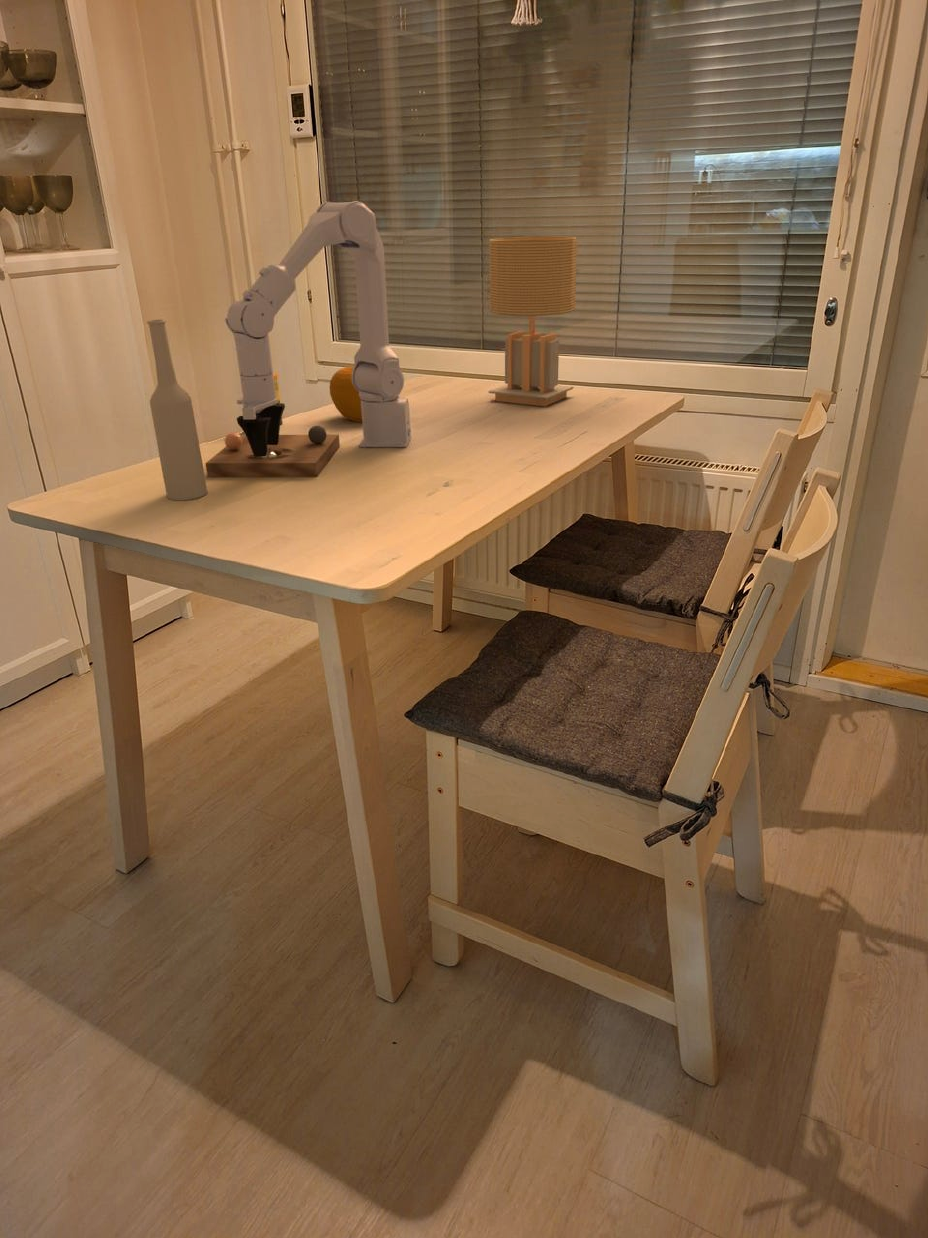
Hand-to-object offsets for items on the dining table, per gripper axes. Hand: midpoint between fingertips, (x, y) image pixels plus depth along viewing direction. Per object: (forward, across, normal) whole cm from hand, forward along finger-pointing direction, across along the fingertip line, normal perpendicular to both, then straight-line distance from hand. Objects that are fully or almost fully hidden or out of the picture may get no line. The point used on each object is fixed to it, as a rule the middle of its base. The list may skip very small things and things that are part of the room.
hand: (266, 450), depth 153 cm
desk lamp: (+4, -58, +48) cm, 76 cm away
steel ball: (+2, -1, 0) cm, 2 cm away
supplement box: (+4, -32, -10) cm, 34 cm away
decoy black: (-1, -8, +8) cm, 11 cm away
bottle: (+4, +14, -10) cm, 18 cm away
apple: (+4, -40, +10) cm, 41 cm away
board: (+4, -6, 0) cm, 7 cm away
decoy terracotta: (0, -4, -8) cm, 9 cm away
